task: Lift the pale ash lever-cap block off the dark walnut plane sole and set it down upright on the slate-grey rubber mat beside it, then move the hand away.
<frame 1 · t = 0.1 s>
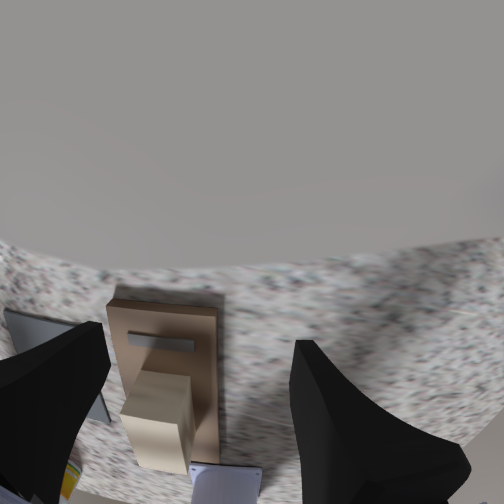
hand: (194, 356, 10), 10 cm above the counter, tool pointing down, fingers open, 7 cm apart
slate mat: (55, 370, 24), on the counter
supplement bottle: (67, 462, 30), on the counter
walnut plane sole: (172, 394, 24), on the counter
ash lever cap: (169, 403, 23), point 1 cm above the counter, touching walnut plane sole
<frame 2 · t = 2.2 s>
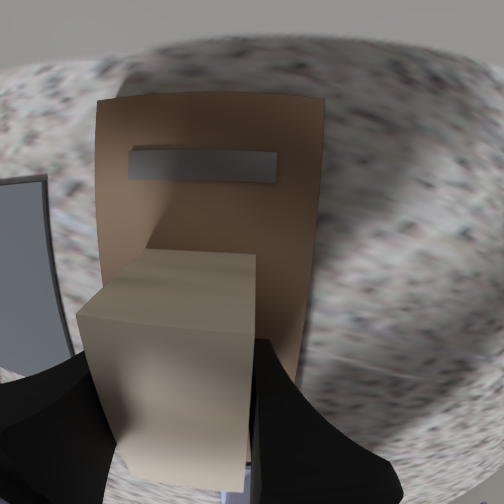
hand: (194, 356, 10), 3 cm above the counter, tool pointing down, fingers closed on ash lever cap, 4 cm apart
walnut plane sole: (204, 320, 13), on the counter
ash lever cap: (200, 335, 12), point 1 cm above the counter, touching gripper, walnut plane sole
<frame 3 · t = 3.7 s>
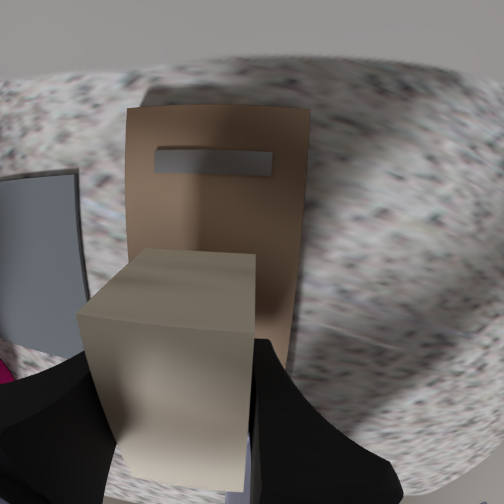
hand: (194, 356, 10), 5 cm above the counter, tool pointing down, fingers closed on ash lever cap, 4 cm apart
slate mat: (26, 273, 16), on the counter
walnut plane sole: (213, 291, 16), on the counter
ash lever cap: (200, 335, 12), point 4 cm above the counter, touching gripper
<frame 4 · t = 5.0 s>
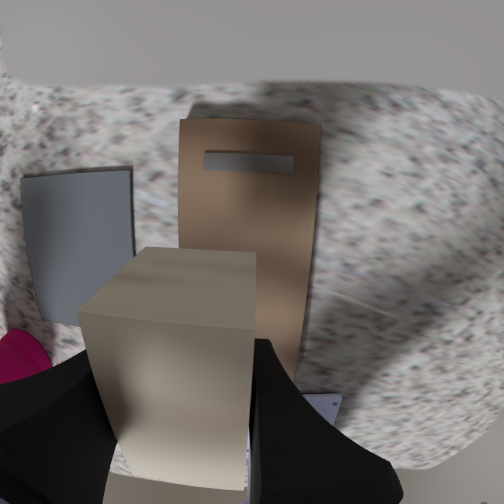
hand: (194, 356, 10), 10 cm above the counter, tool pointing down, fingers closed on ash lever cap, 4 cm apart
slate mat: (75, 255, 20), on the counter
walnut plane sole: (244, 265, 20), on the counter
pepper mill: (29, 353, 23), on the counter
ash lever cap: (200, 333, 12), point 8 cm above the counter, touching gripper
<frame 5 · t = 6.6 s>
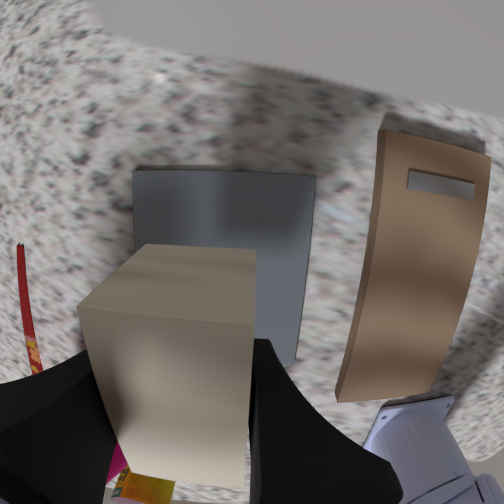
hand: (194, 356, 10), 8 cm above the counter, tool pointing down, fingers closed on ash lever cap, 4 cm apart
chopstick: (39, 364, 22), on the counter
slate mat: (219, 275, 18), on the counter
supplement bottle: (153, 459, 24), on the counter
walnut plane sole: (415, 283, 18), on the counter
pepper mill: (112, 390, 21), on the counter
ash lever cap: (200, 331, 12), point 6 cm above the counter, touching gripper
when the fingers open (3 cm above the counter, at t = 8.0 s): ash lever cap drops 1 cm, resting on slate mat.
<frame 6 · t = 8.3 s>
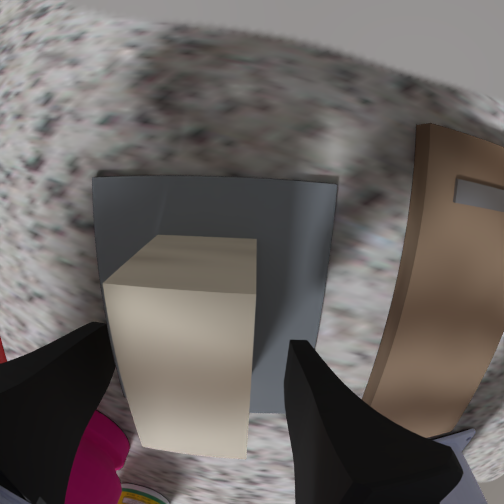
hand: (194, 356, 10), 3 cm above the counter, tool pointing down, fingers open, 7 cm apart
slate mat: (206, 314, 13), on the counter
supplement bottle: (143, 493, 20), on the counter
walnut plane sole: (449, 316, 13), on the counter
pepper mill: (91, 428, 17), on the counter
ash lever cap: (206, 314, 13), resting on slate mat
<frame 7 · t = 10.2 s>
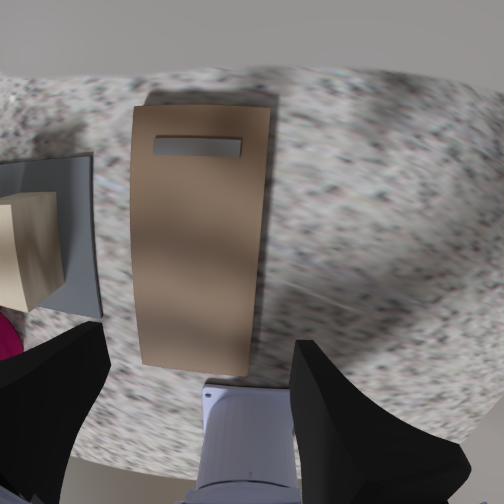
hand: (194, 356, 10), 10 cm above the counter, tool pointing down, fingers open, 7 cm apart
slate mat: (42, 238, 19), on the counter
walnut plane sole: (195, 250, 20), on the counter
pepper mill: (4, 334, 23), on the counter
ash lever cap: (40, 237, 19), resting on slate mat
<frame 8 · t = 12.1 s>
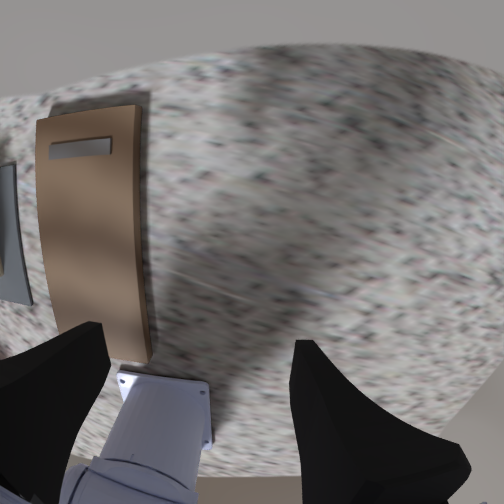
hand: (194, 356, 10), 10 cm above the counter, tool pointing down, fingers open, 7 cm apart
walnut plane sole: (91, 241, 20), on the counter
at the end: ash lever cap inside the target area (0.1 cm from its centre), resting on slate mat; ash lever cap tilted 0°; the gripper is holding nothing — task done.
